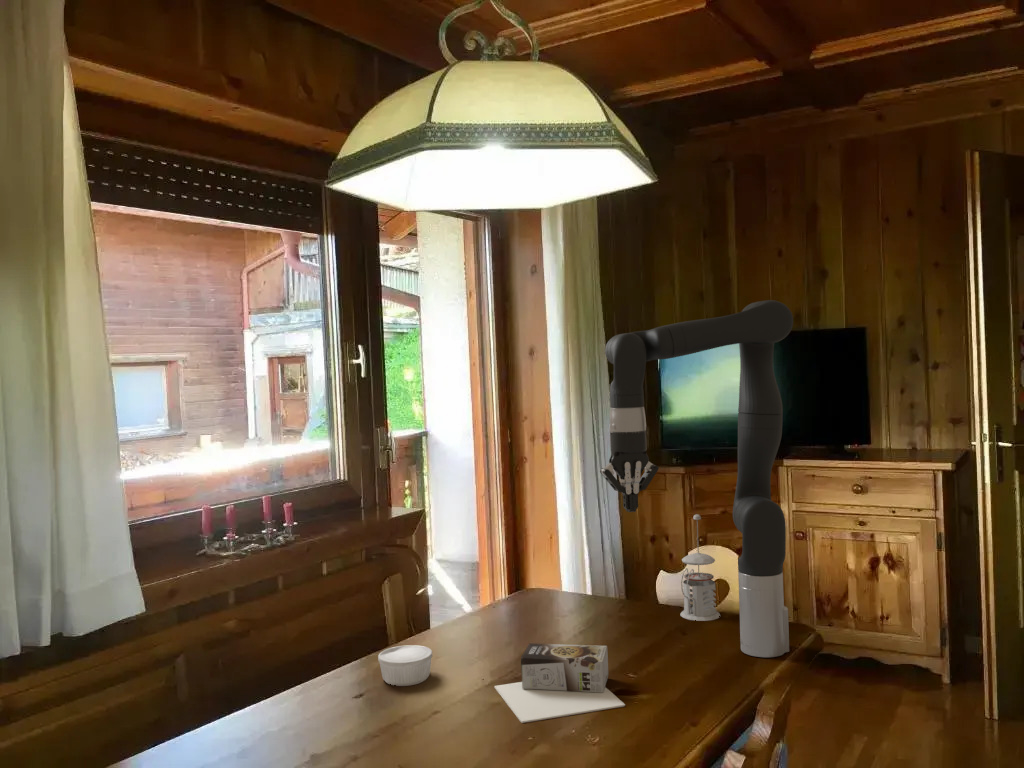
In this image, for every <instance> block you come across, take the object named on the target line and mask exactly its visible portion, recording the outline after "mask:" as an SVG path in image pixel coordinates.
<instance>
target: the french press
mask: <svg viewBox="0 0 1024 768" xmlns="http://www.w3.org/2000/svg"><path fill="white" fill-rule="evenodd" d="M693 520H696V538H697V541H696V543H697V544H699V520H702V517H701V515H700V514H697V513H696V514H694V515H693ZM699 550H700V549H699V546H697V552H696V553H695V552H694V553H690V554H687V555H685V556H684V557H683V558H681V561H682V563H683V564H685V565H689V566H697V567H698V569H697V570H698V571H697V572H695V570H694V569H693V568H691V570H690V571H689V569H688V568H685V569H684V570H683V572H682V575H681V582H680V585H681V587H680V588H681V592H682V595H683V610H682V611H681V612H680V617H682V618H683V619H686V620H688V621H695V620H696V621H698V622H700V621H701V622H703V621H704V622H706V621H707V622H708V621H715V620H717V619H719V618H720V617H721V614H720V612H719V611H718V610H717V608H716V606H717V603H716V602H717V598H715V597H716V596H717V595H716V594H717V593H715V592H716V582H715V580H713V579H714V575H713V574H712V573H708V572H700V566H704V565H705V566H707V565H712V564H713V563H715V562H716V559H715V558H714V557H713V556H711V555H709V554H706V553H702V552H699ZM685 572H686V574H685ZM683 578H685V579H684V580H683ZM719 616H720V617H719Z"/></svg>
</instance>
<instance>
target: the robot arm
mask: <svg viewBox="0 0 1024 768" xmlns="http://www.w3.org/2000/svg"><path fill="white" fill-rule="evenodd" d="M793 326H794V316H793V313H792V310H790V308H789V306H788V305H786V304H785V303H783V302H781V301H777V300H774V299H773V300H772V299H767V300H761V301H760V300H759V301H755V302H751V303H750V304H747V305H746V306H744V308H743V309H742V310H741V311H740V312H736V313H733V314H728V315H723V316H716V317H711V318H710V317H709V318H703V319H702V318H701V319H694V320H687V321H680V322H676V323H671V324H666V325H661V326H657V327H654V328H652V329H647V330H646V329H645V330H639V331H632V332H627V333H626V332H625V333H619V334H615V335H614V336H612V337H610V339H609V340H608V341H607V343H606V345H605V349H604V352H605V357H606V359H607V361H608V362H609V363H610V364H612V365H613V380H612V381H611V383H610V388H609V403H610V405H609V407H610V408H609V409H610V410H609V437H610V438H609V439H610V441H609V442H610V458H609V461H608V462H609V463H608V464H607V465H606V466H605V467H601V468H600V469H599V472H600V474H601V476H602V477H603V478H604V479H605V481H606V482H607V483H608V484H609V485H610V486H611V487H612V489H613V490H614V491H616V492H619V493H621V494H622V507H623V509H625V511H626V512H628V513H636V512H637V509H639V493H640V492H641V491H645V490H646V489H648V486H649V485H650V483H651V481H652V480H653V478H654V477H655V476H656V474H657V473H658V471H659V470H660V469H659V466H658V465H656V464H654V463H652V462H651V461H650V459H649V456H648V454H647V450H648V447H647V446H648V445H647V443H648V442H647V420H646V417H647V416H646V410H645V395H644V381H645V374H646V367H647V365H646V364H647V362H650V361H654V360H668V359H675V358H679V357H683V356H689V355H692V354H696V353H700V352H705V351H708V350H712V349H717V348H722V347H726V346H731V345H739V346H738V348H739V358H740V359H739V360H740V361H739V362H740V364H739V365H740V370H739V371H740V372H739V386H738V387H739V389H738V391H739V393H738V409H737V410H738V411H737V412H738V413H737V478H736V484H735V485H736V486H735V493H734V498H733V505H732V520H733V523H734V526H735V527H736V529H737V531H739V532H740V533H741V534H742V535H741V536H742V540H741V541H742V546H741V547H742V548H741V549H742V552H741V555H740V556H739V557H738V559H737V570H738V571H737V573H738V575H737V576H738V578H737V579H738V580H737V581H738V604H739V606H738V607H739V634H740V635H739V636H740V637H739V639H740V640H739V642H740V651H741V652H742V653H744V654H746V655H748V656H752V657H758V658H775V657H776V658H777V657H780V656H783V655H784V654H785V653H788V652H790V638H789V637H790V635H789V634H790V633H789V631H790V630H789V609H788V607H787V606H785V604H784V603H785V602H784V600H785V599H784V598H785V597H784V573H783V572H784V571H783V570H784V569H783V568H784V567H783V566H784V562H785V559H786V554H787V553H786V549H787V548H786V545H787V543H786V542H787V539H786V538H787V536H786V535H787V534H786V531H787V530H786V518H785V514H784V511H783V509H782V508H781V507H780V505H779V504H777V503H776V502H775V501H773V500H772V497H771V496H772V494H771V477H772V469H773V465H774V463H775V459H776V456H777V454H778V450H779V448H780V444H781V440H782V435H783V418H784V417H783V415H784V414H783V413H784V412H783V411H784V410H783V401H782V397H781V393H780V389H779V386H778V383H777V380H776V376H775V371H774V348H775V346H774V345H775V343H779V342H781V341H782V340H784V339H785V338H786V337H788V336H789V334H790V333H791V331H792V330H793ZM615 473H616V474H617V476H618V479H617V478H616V476H614V474H615ZM642 473H643V474H642Z"/></svg>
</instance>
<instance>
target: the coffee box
mask: <svg viewBox="0 0 1024 768" xmlns="http://www.w3.org/2000/svg"><path fill="white" fill-rule="evenodd" d="M608 654H609V653H608V645H598V644H597V645H595V644H594V645H593V644H592V645H591V644H565V643H563V644H562V643H560V644H559V643H558V644H557V643H555V644H554V643H533V642H532V643H531V642H529V643H528V645H527V647H526V648H525V650H524V652H523V654H522V656H521V657H520V675H521V682H522V689H539V690H558V691H579V692H598V693H603V692H604V689H605V687H606V685H607V682H608V677H609V657H608Z"/></svg>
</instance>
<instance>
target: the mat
mask: <svg viewBox="0 0 1024 768" xmlns="http://www.w3.org/2000/svg"><path fill="white" fill-rule="evenodd" d="M493 687H494V689H495V690H496V692H497V693H498V694H499V695H500V696H501V698H502V699H503V701H504V702H505V704H506V705H507V706H508V708H509V709H510V710H511V711H512V712H513V714H514V715H515V716H516V718H517V720H519V722H520V723H521V724H524V723H531V722H537V721H542V720H549V719H555V718H561V717H568V716H573V715H580V714H584V713H585V714H586V713H592V712H598V711H603V710H609V709H616V708H623V707H625V706H626V704H625V703H624V702H623V701H622V700H620V698H618V697H617V696H616V695H615V693H613V692H612V691H611V690H610V689H609V688H607V687H606V686H605V689H604V692H603V693H598V692H579V691H558V690H539V689H522V681H519V682H511V683H506V684H499V685H494V686H493Z"/></svg>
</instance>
